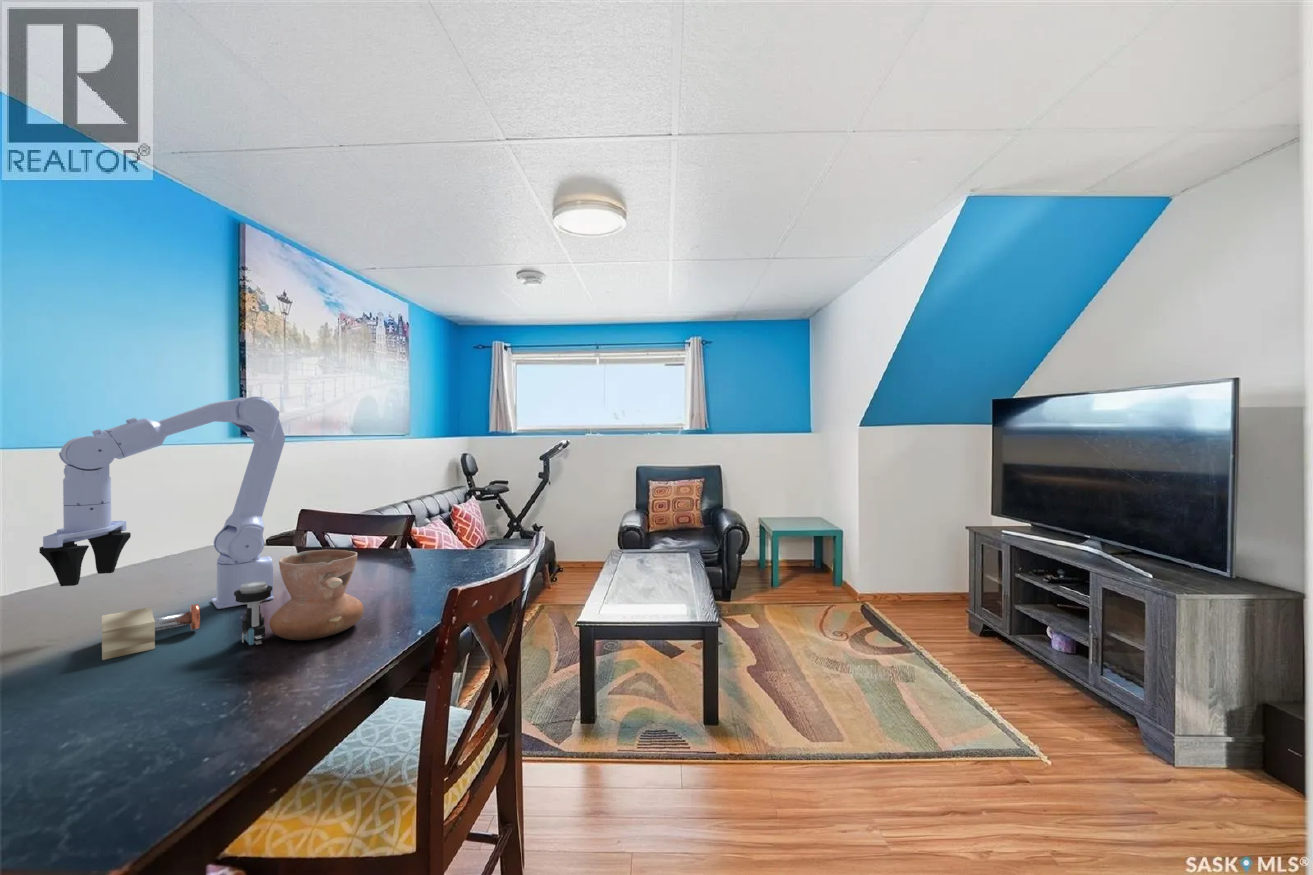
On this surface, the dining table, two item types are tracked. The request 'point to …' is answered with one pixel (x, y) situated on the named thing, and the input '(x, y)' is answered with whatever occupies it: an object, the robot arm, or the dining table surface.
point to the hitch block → (127, 633)
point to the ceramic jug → (316, 595)
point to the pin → (180, 619)
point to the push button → (253, 610)
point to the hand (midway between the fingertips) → (88, 579)
